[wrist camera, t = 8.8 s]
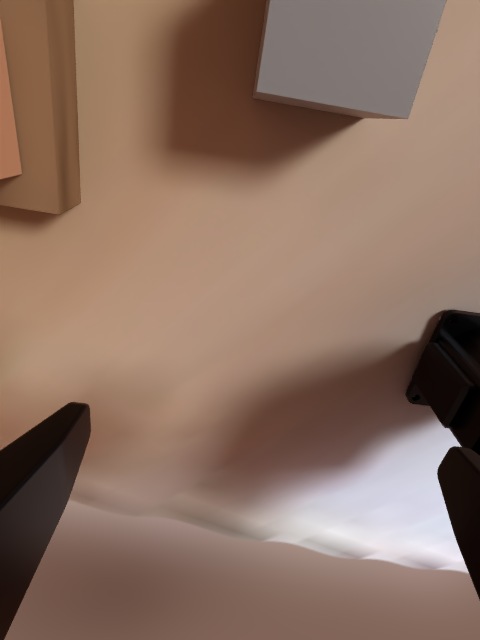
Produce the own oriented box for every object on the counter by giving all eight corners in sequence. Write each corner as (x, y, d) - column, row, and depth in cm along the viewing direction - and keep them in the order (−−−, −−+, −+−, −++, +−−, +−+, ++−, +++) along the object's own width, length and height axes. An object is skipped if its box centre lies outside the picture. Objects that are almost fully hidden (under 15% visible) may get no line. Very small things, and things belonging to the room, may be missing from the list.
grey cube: (404, -31, 14) (477, -95, 10) (363, 118, 17) (407, 118, 12) (274, -58, 14) (291, -138, 9) (252, 98, 16) (256, 91, 12)
